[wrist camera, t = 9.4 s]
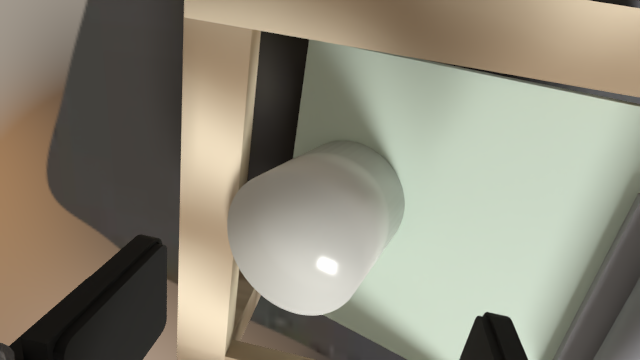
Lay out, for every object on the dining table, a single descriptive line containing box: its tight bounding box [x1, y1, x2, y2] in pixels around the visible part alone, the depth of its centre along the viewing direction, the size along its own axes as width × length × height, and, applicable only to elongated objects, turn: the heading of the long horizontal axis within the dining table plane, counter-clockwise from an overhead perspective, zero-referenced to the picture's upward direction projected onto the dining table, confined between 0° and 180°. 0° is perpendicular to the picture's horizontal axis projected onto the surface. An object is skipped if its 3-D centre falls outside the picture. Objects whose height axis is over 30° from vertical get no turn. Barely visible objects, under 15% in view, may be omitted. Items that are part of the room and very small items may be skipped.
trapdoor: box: [293, 39, 640, 360], centre depth 16 cm, size 13×15×3 cm
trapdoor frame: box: [177, 0, 640, 360], centre depth 19 cm, size 18×18×10 cm
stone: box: [227, 140, 405, 315], centre depth 16 cm, size 5×5×5 cm
